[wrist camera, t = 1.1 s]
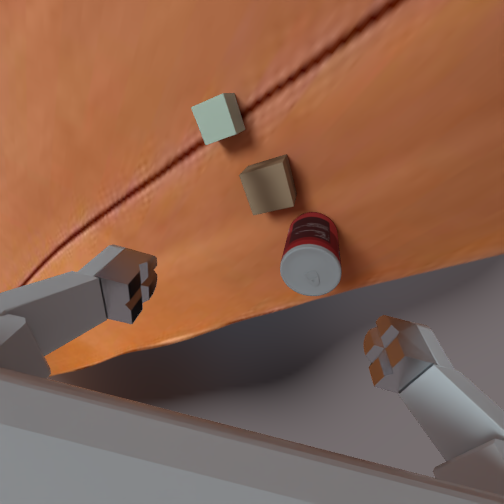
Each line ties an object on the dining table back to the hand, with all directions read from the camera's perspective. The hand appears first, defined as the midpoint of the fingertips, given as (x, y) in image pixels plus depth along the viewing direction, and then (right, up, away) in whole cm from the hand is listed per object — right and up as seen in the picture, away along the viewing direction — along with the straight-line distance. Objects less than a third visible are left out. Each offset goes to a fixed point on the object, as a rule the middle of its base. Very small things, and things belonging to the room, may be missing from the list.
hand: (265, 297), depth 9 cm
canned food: (+10, +5, +31) cm, 33 cm away
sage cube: (-4, +20, +25) cm, 33 cm away
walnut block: (+3, +13, +28) cm, 31 cm away
